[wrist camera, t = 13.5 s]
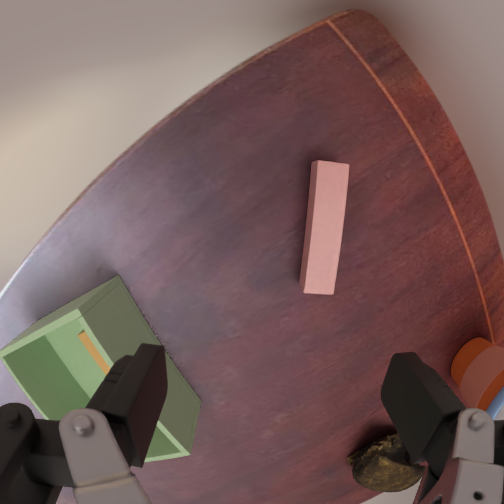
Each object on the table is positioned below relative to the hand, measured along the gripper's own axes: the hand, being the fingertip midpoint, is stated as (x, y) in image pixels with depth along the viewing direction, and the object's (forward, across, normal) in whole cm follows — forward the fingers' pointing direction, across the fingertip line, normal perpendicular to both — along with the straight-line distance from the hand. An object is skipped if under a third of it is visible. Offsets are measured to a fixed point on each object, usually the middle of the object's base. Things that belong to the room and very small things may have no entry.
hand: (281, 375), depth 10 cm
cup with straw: (+16, -26, +11) cm, 32 cm away
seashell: (+16, -19, +27) cm, 36 cm away
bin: (+16, +14, +12) cm, 25 cm away
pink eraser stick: (+16, -4, -3) cm, 16 cm away
